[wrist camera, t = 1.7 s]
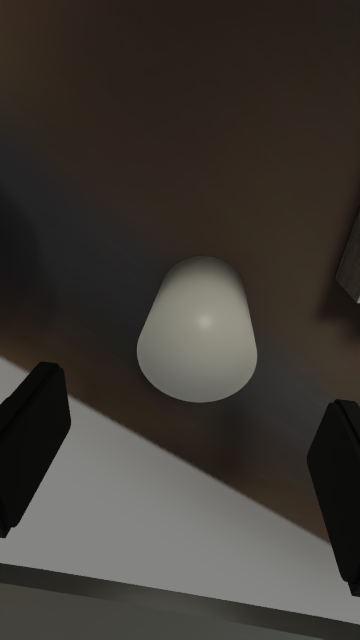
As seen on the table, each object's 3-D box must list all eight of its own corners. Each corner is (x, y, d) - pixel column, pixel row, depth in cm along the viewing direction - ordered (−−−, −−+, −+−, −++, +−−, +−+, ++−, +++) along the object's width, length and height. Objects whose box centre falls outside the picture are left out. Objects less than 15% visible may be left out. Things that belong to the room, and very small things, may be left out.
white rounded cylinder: (161, 251, 16) (136, 297, 11) (252, 260, 16) (269, 312, 11) (158, 348, 20) (137, 418, 15) (233, 357, 19) (238, 432, 14)
